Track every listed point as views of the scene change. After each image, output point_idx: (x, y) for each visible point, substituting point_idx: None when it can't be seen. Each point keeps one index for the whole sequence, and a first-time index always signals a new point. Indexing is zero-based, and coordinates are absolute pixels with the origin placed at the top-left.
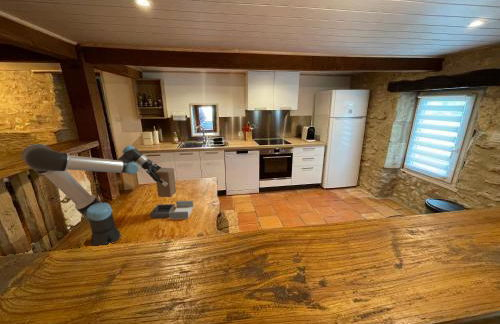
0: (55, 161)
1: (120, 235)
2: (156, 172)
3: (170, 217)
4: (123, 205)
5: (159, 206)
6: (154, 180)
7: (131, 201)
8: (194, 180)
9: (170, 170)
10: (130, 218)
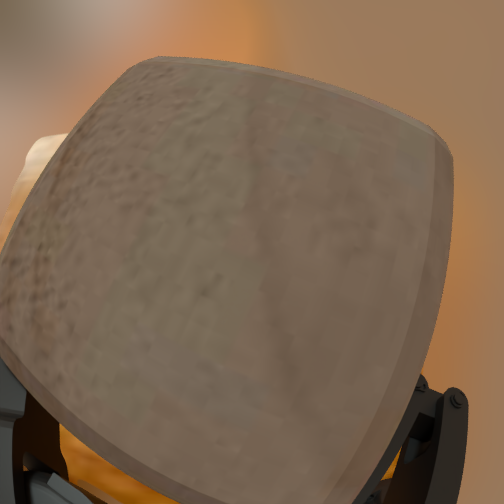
0: None
1: (379, 482)
2: (347, 501)
3: None
4: (118, 498)
5: None
6: (428, 445)
7: (89, 470)
8: (13, 201)
9: (301, 76)
10: None
